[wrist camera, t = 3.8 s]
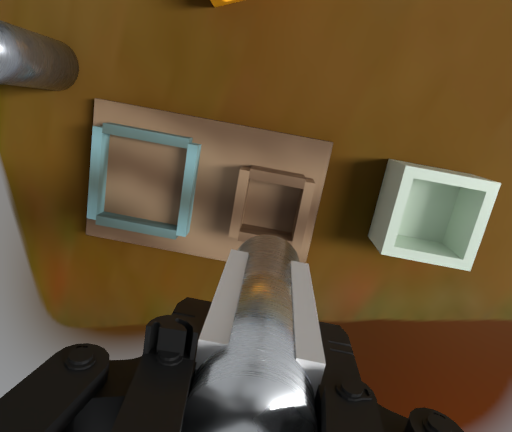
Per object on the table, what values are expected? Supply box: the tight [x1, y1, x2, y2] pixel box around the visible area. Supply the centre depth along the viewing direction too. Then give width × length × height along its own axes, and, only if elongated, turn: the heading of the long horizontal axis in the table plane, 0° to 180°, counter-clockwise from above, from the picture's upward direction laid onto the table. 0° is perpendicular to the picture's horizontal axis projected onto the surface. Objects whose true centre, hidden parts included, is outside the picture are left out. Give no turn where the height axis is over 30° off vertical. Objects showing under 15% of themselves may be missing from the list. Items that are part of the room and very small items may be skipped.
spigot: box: [0, 21, 79, 91], centre depth 27 cm, size 4×4×11 cm
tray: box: [368, 159, 501, 271], centre depth 31 cm, size 7×7×5 cm
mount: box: [86, 98, 333, 263], centre depth 32 cm, size 12×20×4 cm, turn 80°
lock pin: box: [181, 235, 318, 432], centre depth 14 cm, size 3×3×10 cm
